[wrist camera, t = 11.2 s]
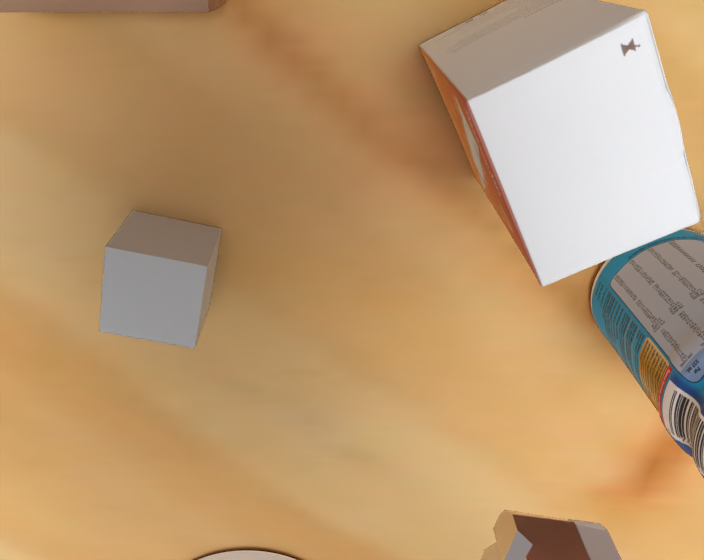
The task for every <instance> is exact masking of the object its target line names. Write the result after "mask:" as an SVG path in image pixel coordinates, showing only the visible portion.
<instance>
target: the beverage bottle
mask: <svg viewBox="0 0 704 560" xmlns="http://www.w3.org/2000/svg"><path fill="white" fill-rule="evenodd" d="M591 310H592V314H593V317H594V320H595V322H596V324H597V326H598V328H599V329H600V330H601V332H602V333H603V335H604V336H605V337H606V338H607V340H608V341H609V342H610V343H611V345H612V346H613V348H614V349H615V350H616V352H617V353H618V355H619V356H620V357H621V359H622V360H623V362H624V363H625V365H626V366H627V367H628V369H629V370H630V372H631V373H632V375H633V376H634V378H635V379H636V380H637V382H638V383H639V385H640V386H641V388H642V389H643V391H644V392H645V394H646V395H647V396H648V398H649V399H650V401H651V402H652V404H653V405H654V407H655V408H656V410H657V411H658V412H659V414H660V417H661V420H662V422H663V424H664V426H665V428H666V430H667V431H668V433H669V434H670V435H671V437H672V438H673V439H674V441H675V442H676V443H677V444H678V445H679V446H680V447H681V448H682V449H683V450H684V451H685V452H686V453H687V454H689V455H690V456H691V457H693V458H694V461H695V464H696V466H697V468H698V470H699V472H700V473H701V475H702V476H703V478H704V235H703V234H700V233H698V232H695V231H692V230H687V229H681V230H679V231H676V232H674V233H671V234H669V235H667V236H664V237H662V238H659V239H657V240H654V241H652V242H649V243H647V244H644V245H642V246H639V247H637V248H635V249H632V250H630V251H627V252H625V253H622V254H620V255H617V256H615V257H613V258H610V259H608V260H606V261H605V263H604V264H603V266H602V267H601V269H600V270H599V272H598V274H597V276H596V278H595V281H594V284H593V287H592V292H591Z"/></svg>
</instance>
